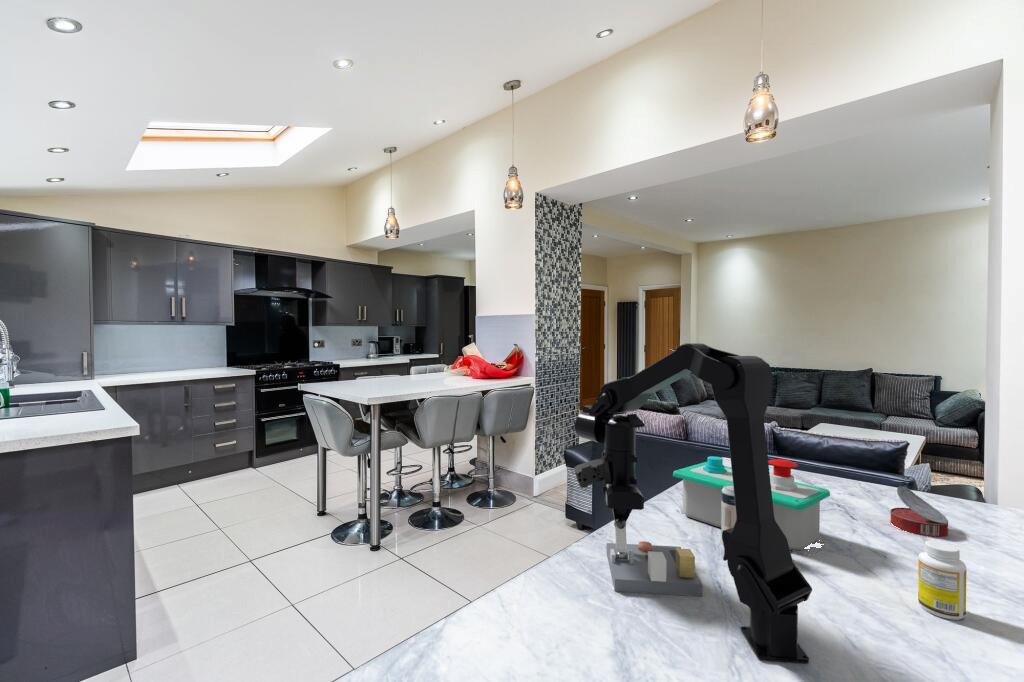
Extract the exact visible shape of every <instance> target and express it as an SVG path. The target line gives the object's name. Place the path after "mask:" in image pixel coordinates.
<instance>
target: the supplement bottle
mask: <svg viewBox="0 0 1024 682" xmlns="http://www.w3.org/2000/svg"><path fill="white" fill-rule="evenodd" d="M960 558H961V557H960V549H959V548H958V547H957V546H956V545H953V544H950V543H947V542H944V541H938V540H926V541H925V545H924V551H923V552H920V553H919V555H918V563H917V564H918V574H917V575H918V577H917V578H918V583H917V584H918V585H917V586H918V587H917V589H918V593H917V594H918V597H917V600H918V604H919V606H920V607H921V609H923V610H925V611H926V612H927V613H929V614H932V615H934V616H936V617H940V618H943V619H946V620H947V619H948V620H954V621H956V620H957V621H958V620H962V619H964V618H965V617H966V614H967V565H966V563H964V561H963V560H961V559H960Z"/></svg>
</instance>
